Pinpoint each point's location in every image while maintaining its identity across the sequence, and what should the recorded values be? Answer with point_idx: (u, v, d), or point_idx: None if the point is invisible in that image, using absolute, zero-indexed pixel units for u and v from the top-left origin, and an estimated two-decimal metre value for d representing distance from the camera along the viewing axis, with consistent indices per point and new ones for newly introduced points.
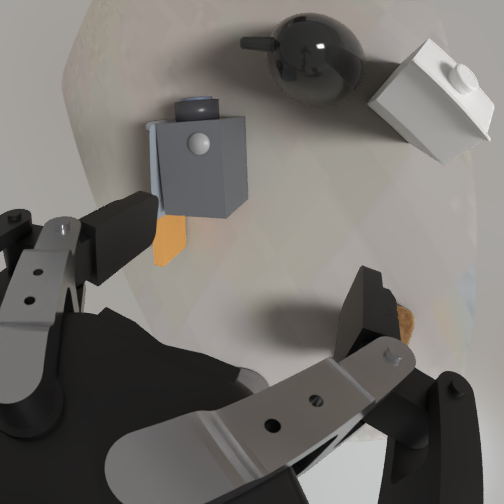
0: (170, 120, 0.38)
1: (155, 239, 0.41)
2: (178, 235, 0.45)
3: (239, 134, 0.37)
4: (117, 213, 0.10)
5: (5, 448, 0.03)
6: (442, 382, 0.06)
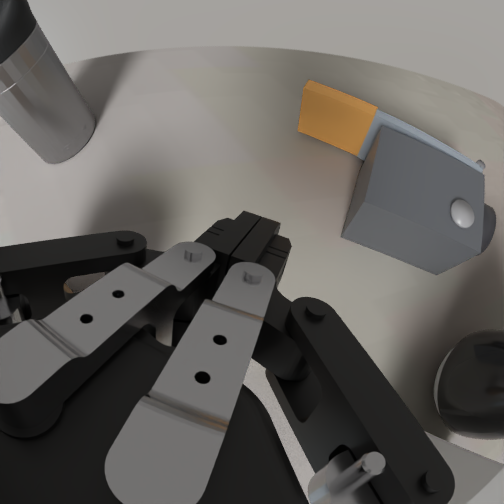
0: None
1: (345, 97, 0.26)
2: (323, 128, 0.31)
3: (429, 262, 0.27)
4: (241, 238, 0.10)
5: (5, 449, 0.03)
6: (297, 312, 0.07)
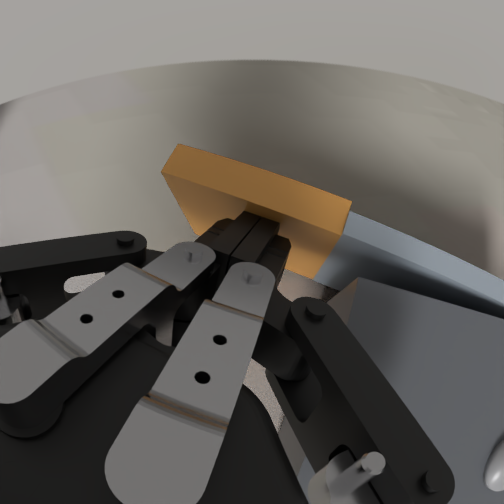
0: None
1: (265, 183, 0.11)
2: None
3: None
4: (240, 238, 0.10)
5: (5, 449, 0.03)
6: (297, 312, 0.07)
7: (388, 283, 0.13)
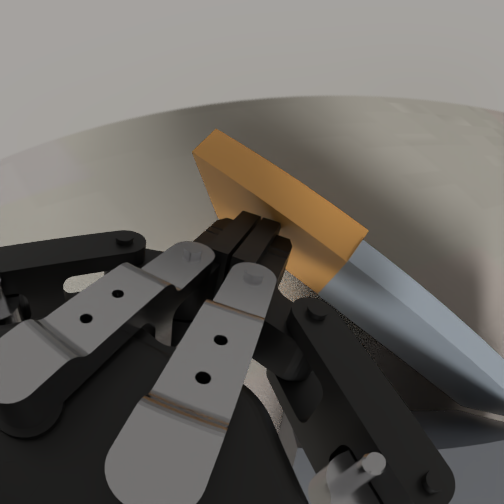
0: None
1: (288, 189, 0.11)
2: None
3: None
4: (239, 238, 0.10)
5: (5, 448, 0.03)
6: (298, 312, 0.07)
7: (385, 321, 0.12)
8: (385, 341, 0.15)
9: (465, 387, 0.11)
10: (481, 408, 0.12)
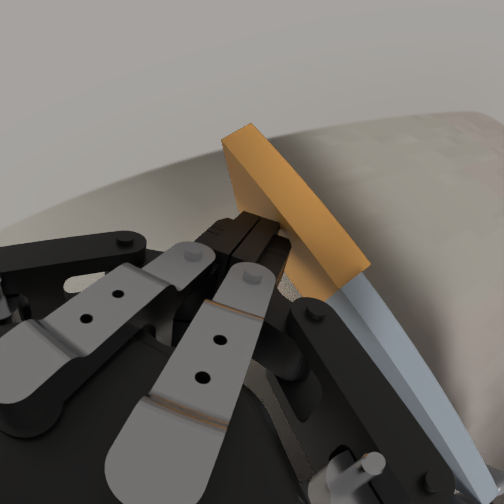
0: None
1: (303, 201, 0.11)
2: None
3: None
4: (240, 238, 0.10)
5: (6, 449, 0.03)
6: (297, 312, 0.07)
7: None
8: None
9: None
10: None
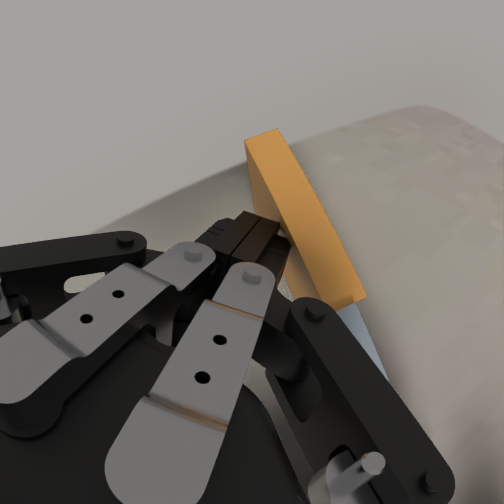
0: None
1: (312, 218, 0.11)
2: None
3: None
4: (241, 238, 0.10)
5: (6, 449, 0.03)
6: (297, 312, 0.07)
7: None
8: None
9: None
10: None
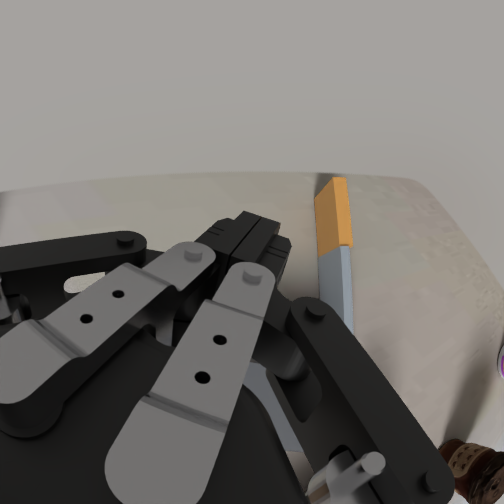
0: None
1: (345, 214, 0.30)
2: (321, 215, 0.35)
3: None
4: (240, 238, 0.10)
5: (5, 448, 0.03)
6: (297, 312, 0.07)
7: (331, 280, 0.32)
8: (322, 296, 0.34)
9: None
10: None
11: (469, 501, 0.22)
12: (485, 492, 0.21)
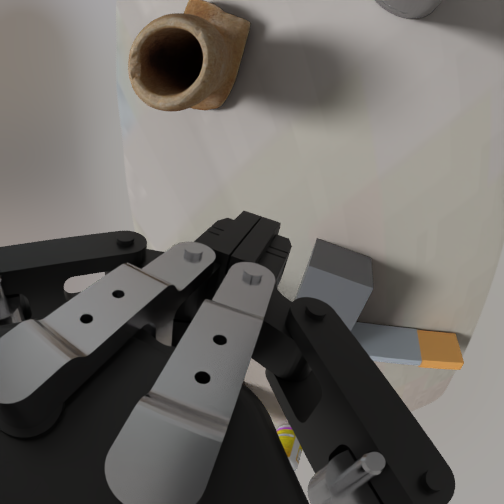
0: None
1: (438, 365, 0.37)
2: (443, 340, 0.40)
3: (295, 298, 0.45)
4: (240, 238, 0.10)
5: (5, 449, 0.03)
6: (297, 312, 0.07)
7: (401, 344, 0.41)
8: (390, 330, 0.44)
9: (363, 339, 0.43)
10: None
11: None
12: None
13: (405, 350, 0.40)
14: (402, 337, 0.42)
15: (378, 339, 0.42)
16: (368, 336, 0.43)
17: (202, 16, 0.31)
